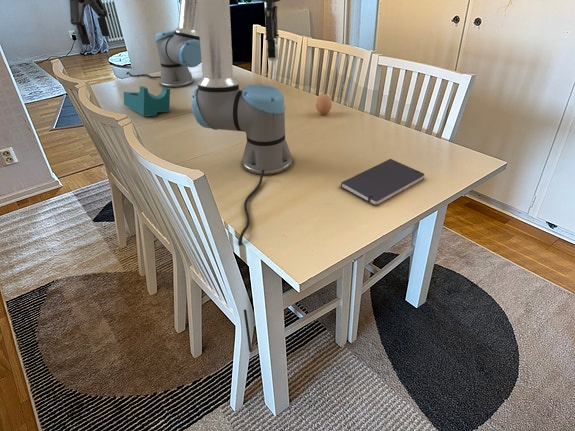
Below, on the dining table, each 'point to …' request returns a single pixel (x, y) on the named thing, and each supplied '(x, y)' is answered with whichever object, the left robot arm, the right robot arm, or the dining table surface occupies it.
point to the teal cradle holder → (148, 101)
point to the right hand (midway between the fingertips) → (272, 55)
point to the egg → (323, 104)
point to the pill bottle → (275, 52)
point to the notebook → (382, 181)
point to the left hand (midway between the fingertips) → (96, 40)
